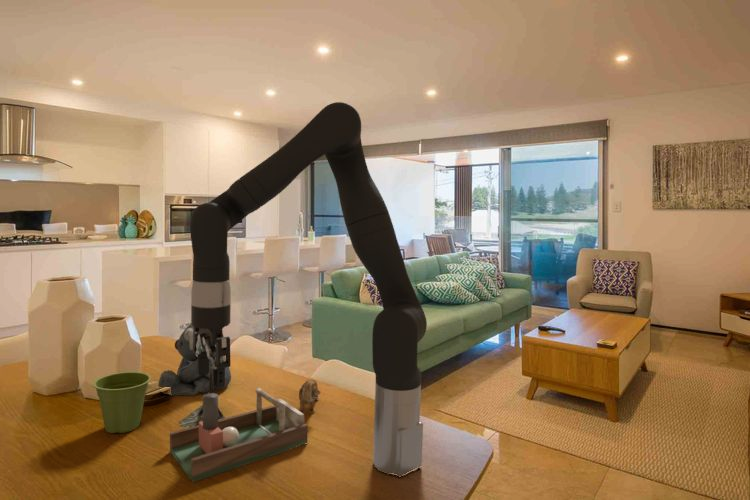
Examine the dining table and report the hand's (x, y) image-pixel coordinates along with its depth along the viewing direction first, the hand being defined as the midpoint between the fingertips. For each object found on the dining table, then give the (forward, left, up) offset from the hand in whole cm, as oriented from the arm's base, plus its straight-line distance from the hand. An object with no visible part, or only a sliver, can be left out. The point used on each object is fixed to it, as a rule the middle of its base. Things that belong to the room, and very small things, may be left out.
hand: (210, 380), depth 98 cm
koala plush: (+40, -12, -17) cm, 45 cm away
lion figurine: (+8, -29, -17) cm, 35 cm away
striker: (0, 0, -15) cm, 15 cm away
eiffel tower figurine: (+19, -7, -17) cm, 27 cm away
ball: (0, -4, -13) cm, 14 cm away
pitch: (0, -6, -16) cm, 17 cm away
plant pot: (+25, +11, -17) cm, 32 cm away
